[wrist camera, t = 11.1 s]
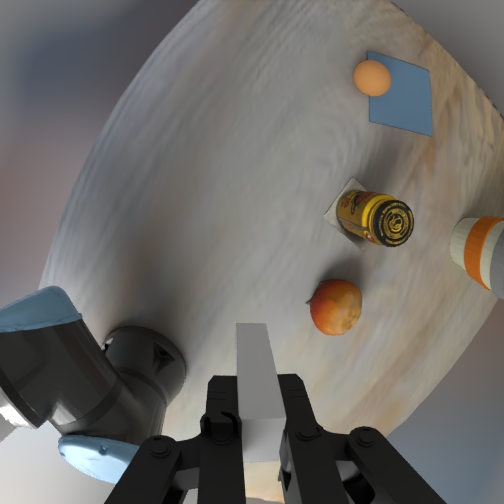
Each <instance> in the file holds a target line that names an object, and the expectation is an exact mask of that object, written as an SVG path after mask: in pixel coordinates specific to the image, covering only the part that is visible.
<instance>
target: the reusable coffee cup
mask: <svg viewBox="0 0 504 504" xmlns="http://www.w3.org/2000/svg"><path fill="white" fill-rule="evenodd" d="M450 252H451V256H452V258H453V260H454V261H455V262H456V263H457V264H458V265H460V266H461V267H462V268H464V269H465V270H466V271H467V273H468V275H469V276H470V277H472V278H473V279H474V280H475V281H477V282H478V283H479V284H480V285H482V286H483V287H484V288H485V289H488V290H492V292H493V294H494V295H495V296H496V297H498V298H501V299H503V300H504V218H498V217H483V218H464V219H462V220H460V221H459V222H458V223H457V225H456V226H455V228H454V230H453V232H452V235H451V240H450Z"/></svg>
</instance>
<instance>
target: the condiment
mask: <svg viewBox="0 0 504 504" xmlns="http://www.w3.org/2000/svg"><path fill="white" fill-rule="evenodd" d="M323 218H324V219H326V220H327V221H328V222H329V223H330V224H332V225H333V226H334V227H335V228H337V229H338V230H339V231H340V232H341V233H343V234H344V235H345V236H346V237H348V238H349V239H350V240H351V241H352V242H354V243H355V244H356V245H357V246H358V247H360V248H361V249H362V250H363V251H365V249H366V248H367V246H368V245H369V243H370V242H372V243H374V244H378V245H385V246H387V247H396V246H399V245H401V244H403V243H405V242H406V241H407V240H408V238H409V237H410V236H411V233H412V231H413V226H414V218H413V214H412V211H411V209H410V208H409V207H408V206H407V205H406V204H405V203H404V202H402V201H399V200H396V199H395V198H394V197H392V196H389V195H386V194H379V193H374V192H369V191H367V190H366V189H365V188H364V187H363V186H362V185H361V184H359V183H358V182H357V181H356V180H355V179H354V178H353V177H352V178H351V180H350V181H349V182H348V184H347V185H346V186H345V188H344V189H343V190H342V192H341V193H340V194H339V196H338V197H337V199H336V200H335V201H334V203H333V204H332V206H331V207H330V209H329V210H328V211H327V213H326V214H325V215H324V217H323Z"/></svg>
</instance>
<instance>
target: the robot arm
mask: <svg viewBox="0 0 504 504" xmlns="http://www.w3.org/2000/svg"><path fill="white" fill-rule="evenodd" d="M82 318H83V317H82V314H81V313H78V311H77V310H76V308H75V306H74V305H73V303H72V302H71V300H70V298H69V297H68V295H67V294H66V292H65V291H64V290H63V289H62V288H60V287H57V286H49V287H46V288H43V289H41V290H39V291H36V292H34V293H32V294H30V295H27V296H25V297H23V298H21V299H19V300H16V301H14V302H13V303H10V304H8V305H6V306H4V307H2V308H0V442H1V441H3V440H4V439H5V438H6V437H7V436H8V435H9V434H10V433H12V432H13V431H14V430H15V429H16V428H17V427H26V428H31V429H38V428H39V427H40V426H41V425H42V424H43V423H45V422H46V421H47V420H49V421H50V422H51V424H52V425H53V426H54V427H55V428H56V429H57V430H58V431H59V432H60V433H61V435H62V437H61V438H59V441H58V443H59V445H58V449H59V451H60V454H61V456H62V457H63V458H64V459H65V460H66V461H67V462H68V463H69V464H71V465H72V466H73V467H75V468H76V469H78V470H80V471H81V472H83V473H85V474H87V475H89V476H92V477H94V478H97V479H100V480H103V481H106V482H111V483H115V484H116V485H115V487H114V489H113V490H112V492H111V493H110V495H109V497H108V498H107V500H106V501H105V503H104V504H183V501H184V499H185V497H186V494H187V492H188V490H189V489H195V488H198V499H197V504H246V496H245V482H244V466H243V463H244V462H271V461H278V460H279V455H280V461H281V467H280V471H279V476H278V481H281V482H282V489H283V495H284V501H285V504H447V503H446V502H445V501H444V500H443V499H442V498H441V497H440V496H439V495H438V494H437V493H436V492H435V491H434V490H433V489H432V488H431V487H430V486H429V485H428V484H427V483H426V481H425V480H424V479H423V478H422V477H421V476H420V475H419V474H418V473H417V472H416V471H415V470H414V469H413V468H412V467H411V466H410V464H409V463H408V462H407V461H406V460H405V459H404V458H403V457H402V456H401V455H400V454H399V452H398V451H397V450H396V449H395V448H394V447H393V446H392V445H391V444H390V443H389V441H387V439H386V438H385V437H384V436H383V435H382V434H381V433H380V432H379V431H378V430H376V429H374V428H371V427H365V426H362V427H358V428H355V429H354V430H352V431H351V432H350V434H349V435H348V434H337V433H331V432H328V431H326V430H324V429H323V427H322V426H320V425H319V424H318V423H317V422H316V419H315V416H314V413H313V410H312V407H311V404H310V401H309V398H308V395H307V392H306V390H305V386H304V383H303V380H302V379H301V378H300V377H299V376H298V375H297V374H277V373H276V368H275V364H274V359H273V355H272V350H271V346H270V341H269V337H268V332H267V327H266V323H236V354H235V371H236V376H217V375H214V376H213V377H212V378H211V380H210V381H209V382H208V390H207V401H206V413H205V414H204V415H203V416H202V417H201V420H200V427H201V433H200V434H199V435H198V436H196V437H194V438H192V439H188V440H183V441H177V442H176V441H175V440H174V439H173V438H171V437H169V436H164V435H161V432H162V427H163V422H164V418H165V412H166V408H167V407H168V405H169V404H170V403H171V402H172V401H173V399H174V398H175V397H176V396H177V395H178V393H179V392H180V391H181V389H182V387H183V384H184V379H185V374H186V368H185V363H184V360H183V357H182V355H181V354H180V352H179V351H178V349H177V348H176V347H175V346H174V345H173V344H172V343H171V342H170V341H169V340H168V339H167V338H165V337H164V336H162V335H160V334H159V333H157V332H155V331H152V330H150V329H146V328H142V327H135V326H129V327H123V328H119V329H117V330H115V331H113V332H112V333H111V334H110V335H109V336H108V337H107V338H106V340H105V341H104V343H103V344H102V346H101V348H100V346H99V345H98V343H97V342H96V340H95V339H94V337H93V335H92V334H91V332H90V331H89V329H88V327H87V326H86V324H85V323H84V321H83V319H82Z"/></svg>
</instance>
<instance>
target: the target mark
mask: <svg viewBox="0 0 504 504" xmlns="http://www.w3.org/2000/svg"><path fill="white" fill-rule="evenodd" d="M367 58H368V60H374V61H377V62H380V63H381V64H383V65H384V66H385V67H386V68H387V69H388V71H389V73H390V75H391V86H390V88H389V90H388V91H387V92H386V93H385V94H383V95H381V96H369V122H374V123H379V124H384V125H388V126H393V127H397V128H401V129H405V130H409V131H413V132H417V133H421V134H424V135H428V136H432V105H431V89H430V78H429V71H428V70H425V69H423V68H420V67H417V66H414V65H412V64H409V63H406V62H403V61H400V60H397V59H394V58H391V57H387V56H384V55H381V54H377V53H374V52H370V51H367Z"/></svg>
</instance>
